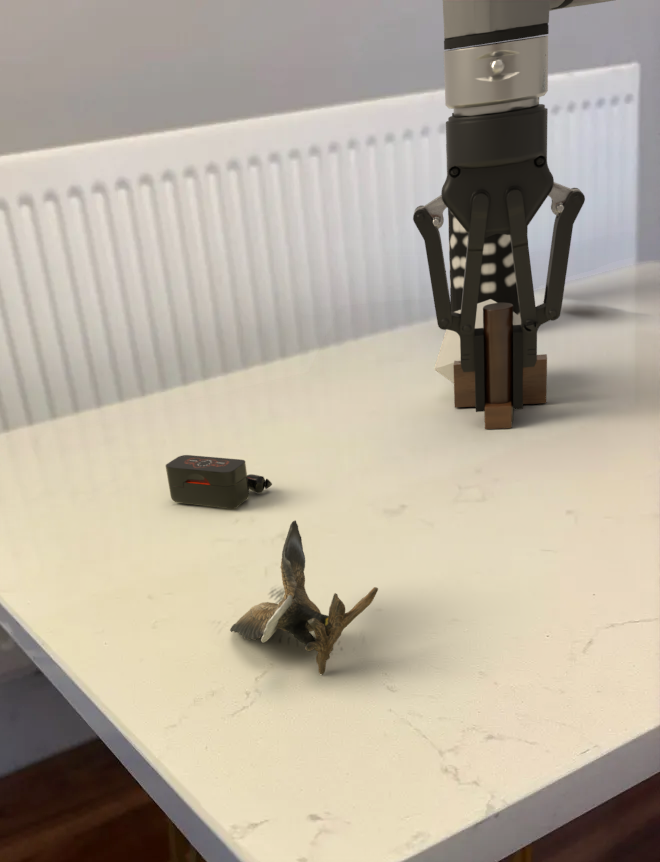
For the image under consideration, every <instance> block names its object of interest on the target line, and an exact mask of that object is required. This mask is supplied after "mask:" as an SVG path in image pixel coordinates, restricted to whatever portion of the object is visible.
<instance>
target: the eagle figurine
mask: <svg viewBox="0 0 660 862" xmlns="http://www.w3.org/2000/svg"><path fill="white" fill-rule="evenodd" d="M302 541H303V539H302V535H301V533H300V530H299V525H298V522H297V520H296V519H295V520H292V522H291V523H290V525H289V528H288V532H287V535H286V537H285V541H284V544H283V547H282V552H281V559H280V572H281V581H282V586H283V589H284V593H283V597H282V598H281V600H280V601H279V602H278V603H276V602H275V603H274V602H269V601H267V602H260V603H258V604H256V605H253V606H252V607H251V608H250V609H249V610H248V611H247V612H246V613H244V614H243V615H242V616H241V617H240V618H239V619H238V620H237V621H236V622H235V623H234V624H232V625H231V627H230V630H229V631H230V632H231V633H233V632H234V633H238V634H239V635H241V637H243V638H244V640H248V641H249V640H253V641H256V640H257V639H260V638H261V639H260V641H261V643H262V644H264V643H266V642H268V640H270V639H271V637H272V636H273V635H274V634H276V632H277V630H282V631H284V632H288V633H289V634H290V635H292V637H293V638H294V639H295V640H296V641H297V642H298V643H301V644H302V645H304V646H305V647H304V649H305V651H307V652H311V651H315V652H317V654H316V656H315V661H316V664H317V668H318V673H319V675H320V674H322V675H324V674H325V672H326V666H327V661H329V660H330V658H331V653H332V652H333V651H334V645H335V644H336V643H337V641H338V639H339V638H340V637H341V635H342V633H343V631H344V629H346V627H348V626H349V625H350V624H351V623H352V622H353V621H354V620H355V619H356V618H357V617H358V616H359V615H360V614H361V613H363V611H365V610H366V609H367V608H368V607H370V605H371V604H372V602H373V601H374V599H375V597H376V595H377V593H378V591H379V588H378V587H376V586H374V587H373V588H372V589H371V590H370V591H369V592H368V593H367V595H365V596H364V597H362V598H361V599H360V600H359V601H358V602H357V603H356V604H355V605H354V606H353V607H352V608H351V609H350V610H349V611H347V612H346V605H345V603H344V602H343V601H342V600H341V599H340V598H339V595H338V593H336V592H334V593H333V595H332V599H331V603H330V606H329V608H328V614H323V613H322V612H321V610H320V608H319V607H318V606H317V605H316V604H315V603H314V602H313V601H312V600H311V599H310V597H309V595H308V593H307V591H306V586H305V584H306V576H305V568H306V555H305V552H304V546H303V542H302ZM311 632H313V633H314V635H313V634H312V633H311Z"/></svg>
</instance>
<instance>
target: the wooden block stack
mask: <svg viewBox="0 0 660 862" xmlns="http://www.w3.org/2000/svg"><path fill="white" fill-rule="evenodd" d="M483 333H484V384H485V411H484V412H483V413H484V414H483V415H484V416H483V417H484V419H483V421H484V430H497V429H498V430H499V429H512V427H513V426H512V424H513V421H514V409H513V305H512V304H510V303H492V304H488V305H486V306H484V307H483ZM453 368H454V383H453V399H454V402H453V403H454V404H453V405H454V408H470V407H473V408H474V407H476V406H475V371H474V372H463V370H462V368H461V362H460V361H454V365H453ZM547 388H548V354H547V353H544V354H543V353H542V354H537V361H536V364H535V366H534V367H525V368H523V405H534V404H535V405H536V404H547V395H548V394H547V392H548V391H547Z"/></svg>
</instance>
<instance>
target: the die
mask: <svg viewBox="0 0 660 862" xmlns="http://www.w3.org/2000/svg"><path fill="white" fill-rule="evenodd" d="M492 303H497V302H495V301H493V300H491V299H490V300H487V301H484V302H481V303H478V304H477V312H476V322H475V328H483V307H484V306H486V305H488V304H492ZM455 313H459V314H461V310H458V311H455ZM513 325H521V318H520V317H519V316H518V315H517V314H516V313H514V312H513ZM454 361H460V362H461V353H460V336H459V335H458V333H456V332H454V331H451V330H445V333H444V336H443V339H442V342H441V346H440V348H439V352H438V355H437V358H436V361H435V365H434V368H433V369H434V371H436V372H437V373H439V374H440V375H442V376H443V377H444V378H446V379H447V380H449V382H451V383H452V384H454V368H453V365H454Z"/></svg>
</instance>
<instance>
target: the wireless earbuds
mask: <svg viewBox="0 0 660 862" xmlns="http://www.w3.org/2000/svg"><path fill="white" fill-rule="evenodd" d="M165 470H166V476H167V482H168V489H169V495H170V499H171V500H172V501H173V503H177V504H185V505H186V504H187V505H193V506H194V505H195V506H201V507H202V506H203V507H210V508H220V509H229V510H234V509H236V508H238V507H239V506H240V505H242V504H243V503H245V502H246V501H247V500H248V499H249V498H250V491H252V492H253V493H255V494H261V493H262V492H264V490H268V489H269V488H270V487H271V486H273V483H272V481H271V480H269V479H268V478H265V476H263V475H260V474H259V475H258V474H252V473H250V474H248V472H247V463H246V461H245V460H244V459H238V458H229V457H214V456H202V455H191V454H182V455H179V456H177V457H176V458H174V459H172V460H170V461H169V462H167V463H166V464H165Z"/></svg>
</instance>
